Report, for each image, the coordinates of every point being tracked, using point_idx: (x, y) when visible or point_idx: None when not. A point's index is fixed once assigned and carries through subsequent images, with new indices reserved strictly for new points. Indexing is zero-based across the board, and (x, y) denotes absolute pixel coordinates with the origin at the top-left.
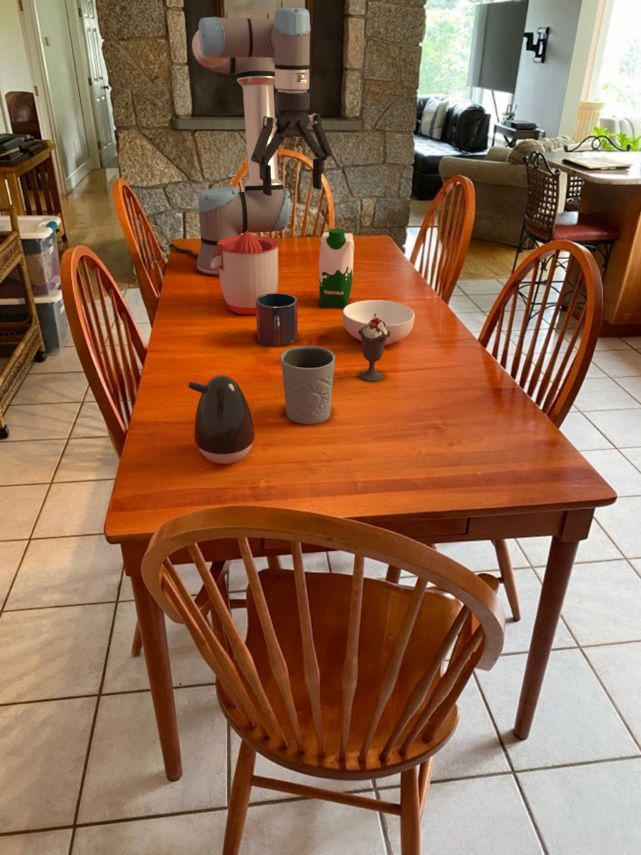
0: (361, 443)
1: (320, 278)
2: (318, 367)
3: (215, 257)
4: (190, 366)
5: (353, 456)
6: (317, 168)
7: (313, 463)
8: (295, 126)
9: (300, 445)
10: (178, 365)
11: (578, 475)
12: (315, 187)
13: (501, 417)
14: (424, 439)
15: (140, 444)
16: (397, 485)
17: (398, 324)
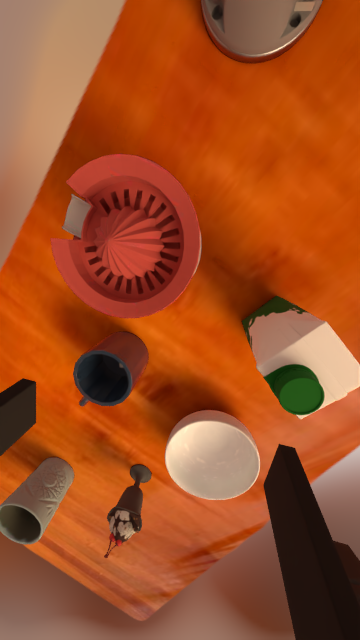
0: (64, 515)
1: (251, 329)
2: (14, 540)
3: (75, 196)
4: (13, 344)
5: None
6: (297, 608)
7: None
8: None
9: None
10: (4, 334)
11: (145, 610)
12: (272, 469)
13: (168, 565)
14: (102, 540)
15: None
16: (54, 547)
17: (197, 496)
